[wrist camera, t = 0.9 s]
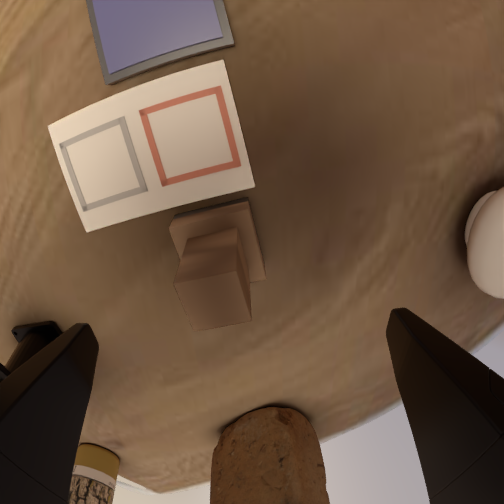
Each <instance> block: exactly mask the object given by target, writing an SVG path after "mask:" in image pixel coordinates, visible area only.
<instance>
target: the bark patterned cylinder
mask: <svg viewBox="0 0 504 504" xmlns="http://www.w3.org/2000/svg"><path fill="white" fill-rule="evenodd" d="M119 465H120V462H119V459H118V458H117V456H116V455H114V454H113V453H112V452H110V451H108V450H106V449H104V448H101V447H99V446H95V445H91V444H82V445H80V446H79V447H78V449H77V453H76V458H75V464H74V469H73V474H72V480H71V486H70V492H69V498H68V504H112V501H113V496H114V491H115V485H116V479H117V474H118V469H119Z"/></svg>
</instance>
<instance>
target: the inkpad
mask: <svg viewBox="0 0 504 504" xmlns="http://www.w3.org/2000/svg"><path fill="white" fill-rule="evenodd" d="M86 2H87V7H88V12H89V17H90V22H91V27H92V31H93V36H94V40H95V45H96V49H97V53H98V57H99V61H100V65H101V69H102V73H103V77H104V81H105V84H106V85H113V84H115V83H118V82H120V81H123V80H125V79H128V78H130V77H133V76H136V75H138V74H141V73H144V72H147V71H149V70H152V69H155V68H158V67H161V66H164V65H167V64H170V63H173V62H176V61H180V60H183V59H186V58H190V57H193V56H197V55H200V54H204V53H208V52H211V51H215V50H219V49H223V48H228V47H232V46H234V41H233V37H232V33H231V29H230V26H229V22H228V18H227V15H226V11H225V7H224V4H223V0H86Z"/></svg>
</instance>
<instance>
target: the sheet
mask: <svg viewBox="0 0 504 504" xmlns="http://www.w3.org/2000/svg"><path fill="white" fill-rule="evenodd" d="M48 129H49V132H50V135H51V139H52V142H53V145H54V148H55V151H56V154H57V157H58V160H59V163H60V166H61V169H62V172H63V174H64V177H65V180H66V183H67V185H68V188H69V191H70V193H71V196H72V198H73V201H74V203H75V206H76V208H77V211H78V213H79V216H80V218H81V221H82V223H83V225H84V228H85V230H86V232H90V231H93V230H97V229H100V228H103V227H106V226H110V225H113V224H116V223H120V222H123V221H126V220H130V219H133V218H137V217H140V216H144V215H147V214H151V213H155V212H158V211H162V210H166V209H169V208H173V207H177V206H180V205H184V204H188V203H192V202H196V201H200V200H204V199H208V198H212V197H216V196H220V195H224V194H228V193H232V192H236V191H241V190H245V189H249V188H254V187H255V184H254V179H253V175H252V171H251V167H250V163H249V159H248V155H247V151H246V147H245V143H244V139H243V134H242V130H241V126H240V122H239V118H238V114H237V110H236V107H235V103H234V99H233V95H232V91H231V87H230V83H229V79H228V75H227V71H226V67H225V64H224V60H220V61H216V62H212V63H208V64H204V65H201V66H197V67H193V68H190V69H187V70H183V71H180V72H177V73H173V74H170V75H167V76H164V77H161V78H158V79H155V80H152V81H150V82H147V83H144V84H141V85H138V86H136V87H133V88H130V89H128V90H125V91H123V92H120V93H118V94H115V95H113V96H110V97H108V98H106V99H103V100H101V101H99V102H96V103H94V104H92V105H90V106H87V107H85V108H83V109H81V110H79V111H77V112H75V113H73V114H70V115H68V116H66V117H64V118H62V119H60V120H58V121H56V122H55V123H53V124H51V125H49V126H48Z"/></svg>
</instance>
